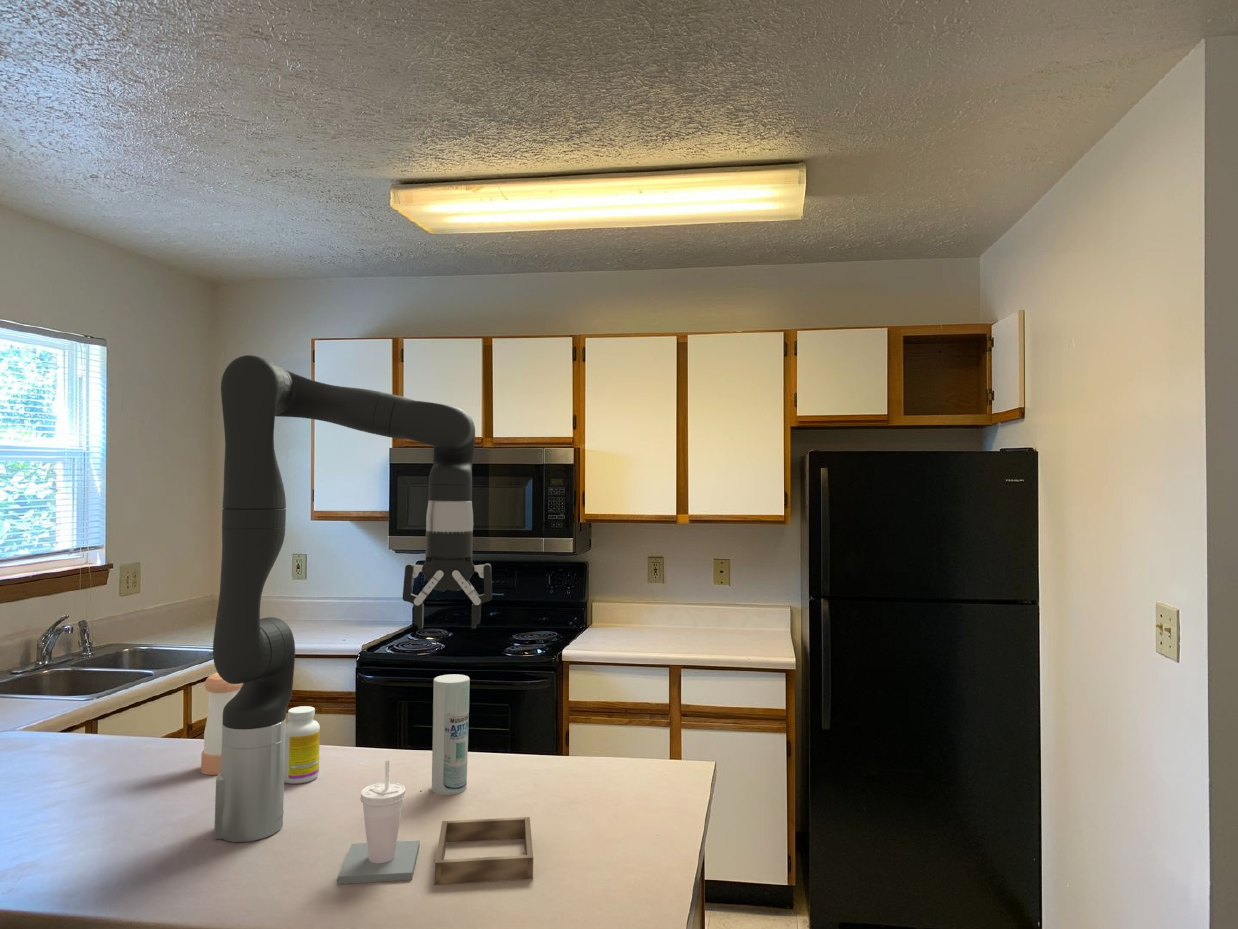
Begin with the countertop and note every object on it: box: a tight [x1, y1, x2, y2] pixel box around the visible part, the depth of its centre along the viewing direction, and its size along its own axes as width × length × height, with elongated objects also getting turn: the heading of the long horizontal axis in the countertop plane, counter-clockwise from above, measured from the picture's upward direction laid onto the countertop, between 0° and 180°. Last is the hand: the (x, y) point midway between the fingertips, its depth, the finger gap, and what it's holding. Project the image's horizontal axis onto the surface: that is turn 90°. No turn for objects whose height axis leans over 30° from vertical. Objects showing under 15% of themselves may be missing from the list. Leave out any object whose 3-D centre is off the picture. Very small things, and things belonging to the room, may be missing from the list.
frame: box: [434, 816, 534, 886], centre depth 115 cm, size 14×14×3 cm
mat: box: [337, 839, 421, 885], centre depth 113 cm, size 10×10×1 cm
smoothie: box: [359, 759, 406, 863], centre depth 114 cm, size 6×6×14 cm
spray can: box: [431, 673, 471, 796], centre depth 142 cm, size 6×6×20 cm
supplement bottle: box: [284, 705, 321, 785], centre depth 146 cm, size 7×7×13 cm
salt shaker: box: [200, 671, 243, 776], centre depth 151 cm, size 7×7×19 cm
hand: (447, 627), depth 127 cm, fingers open, 8 cm apart
